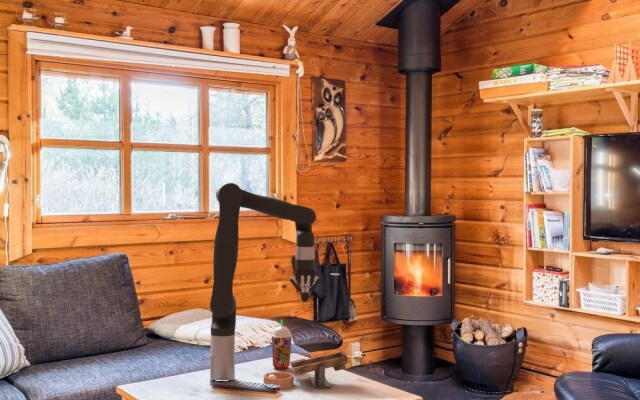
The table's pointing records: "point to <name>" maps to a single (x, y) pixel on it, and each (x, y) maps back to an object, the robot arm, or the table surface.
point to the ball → (272, 376)
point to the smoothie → (281, 347)
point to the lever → (320, 363)
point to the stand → (320, 379)
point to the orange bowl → (280, 379)
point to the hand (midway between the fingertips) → (304, 301)
